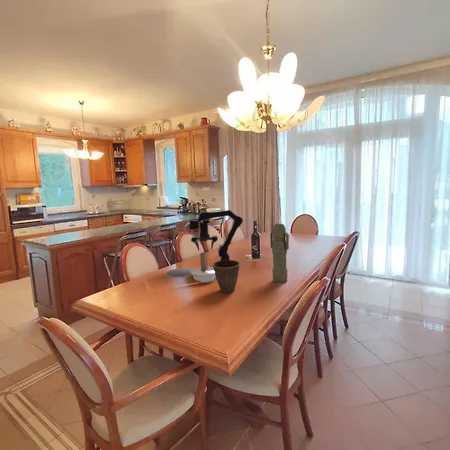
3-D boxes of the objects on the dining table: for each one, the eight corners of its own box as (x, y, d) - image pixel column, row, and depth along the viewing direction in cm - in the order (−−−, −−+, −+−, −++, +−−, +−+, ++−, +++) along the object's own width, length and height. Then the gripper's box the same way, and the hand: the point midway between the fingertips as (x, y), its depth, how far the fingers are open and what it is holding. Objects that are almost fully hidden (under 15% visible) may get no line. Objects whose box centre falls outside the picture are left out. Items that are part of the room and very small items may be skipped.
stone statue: (286, 284, 168) (285, 226, 163) (268, 281, 175) (266, 224, 170) (292, 279, 176) (291, 223, 170) (274, 276, 182) (273, 222, 177)
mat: (197, 268, 207) (197, 267, 206) (193, 278, 187) (193, 276, 187) (170, 269, 208) (170, 268, 207) (163, 279, 188) (163, 277, 188)
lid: (200, 266, 195) (199, 249, 194) (223, 268, 187) (222, 251, 185) (184, 274, 180) (183, 255, 178) (209, 277, 171) (208, 258, 170)
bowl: (216, 275, 191) (216, 268, 190) (214, 282, 177) (214, 274, 176) (195, 275, 191) (195, 268, 191) (192, 283, 178) (191, 275, 177)
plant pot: (232, 297, 153) (230, 269, 150) (209, 293, 161) (207, 265, 158) (245, 288, 165) (244, 261, 163) (223, 284, 173) (222, 258, 171)
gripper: (189, 231, 196) (190, 253, 199) (216, 230, 196) (217, 252, 198) (191, 229, 207) (193, 249, 210) (217, 228, 207) (218, 249, 209)
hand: (205, 250), depth 206 cm, fingers open, 9 cm apart
